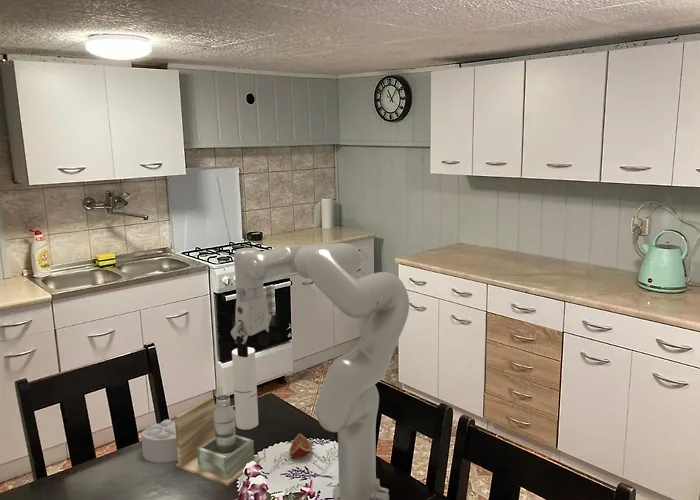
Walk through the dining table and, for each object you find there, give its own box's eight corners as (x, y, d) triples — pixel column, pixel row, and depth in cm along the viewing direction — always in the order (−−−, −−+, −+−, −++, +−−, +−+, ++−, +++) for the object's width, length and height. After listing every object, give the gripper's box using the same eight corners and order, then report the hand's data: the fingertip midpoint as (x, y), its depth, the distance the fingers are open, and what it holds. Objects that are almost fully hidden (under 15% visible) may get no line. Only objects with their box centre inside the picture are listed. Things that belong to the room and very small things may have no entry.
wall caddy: (260, 460, 164) (258, 409, 161) (227, 486, 153) (223, 431, 150) (211, 444, 174) (207, 395, 171) (176, 466, 162) (172, 415, 159)
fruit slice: (290, 448, 171) (289, 432, 170) (312, 447, 171) (312, 431, 170) (288, 463, 163) (288, 447, 162) (312, 462, 163) (311, 446, 162)
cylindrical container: (233, 421, 188) (229, 349, 183) (255, 416, 191) (251, 345, 186) (239, 431, 181) (234, 356, 176) (261, 426, 184) (257, 352, 179)
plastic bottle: (234, 471, 158) (229, 403, 154) (211, 469, 159) (206, 402, 155) (243, 458, 164) (239, 393, 160) (220, 456, 165) (216, 391, 162)
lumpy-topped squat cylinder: (187, 460, 166) (185, 432, 164) (140, 465, 163) (137, 437, 162) (190, 441, 176) (188, 415, 174) (146, 446, 173) (144, 419, 172)
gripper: (241, 301, 151) (245, 363, 154) (278, 286, 166) (281, 343, 169) (219, 298, 154) (223, 359, 157) (257, 284, 169) (261, 339, 172)
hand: (253, 350), depth 163 cm, fingers open, 9 cm apart
